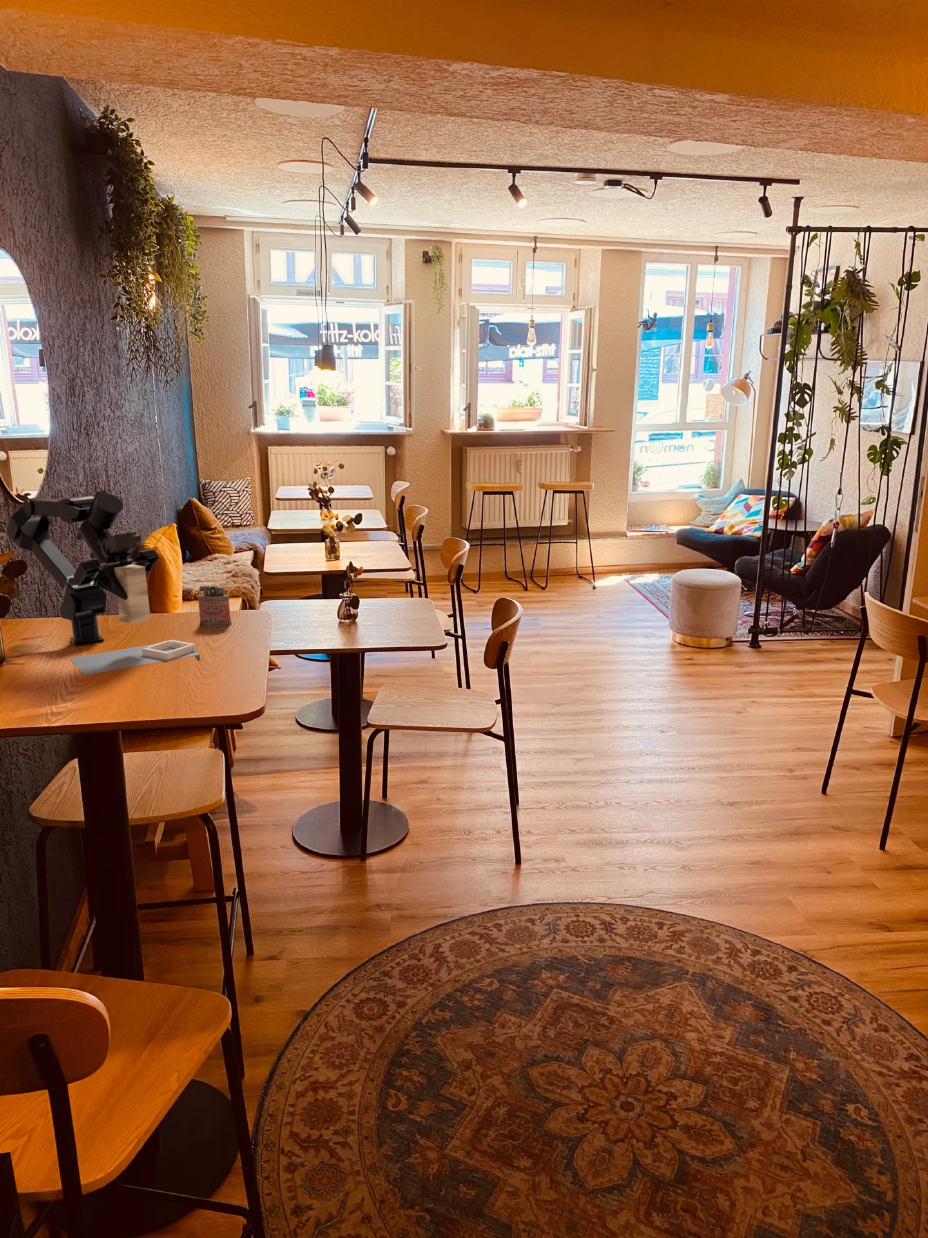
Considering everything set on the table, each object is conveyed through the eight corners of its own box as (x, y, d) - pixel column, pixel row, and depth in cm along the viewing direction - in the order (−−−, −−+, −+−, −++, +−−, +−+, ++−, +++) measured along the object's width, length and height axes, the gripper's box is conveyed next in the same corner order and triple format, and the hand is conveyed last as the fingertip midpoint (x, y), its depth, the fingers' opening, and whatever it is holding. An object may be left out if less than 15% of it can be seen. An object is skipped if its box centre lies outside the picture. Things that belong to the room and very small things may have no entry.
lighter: (233, 622, 229) (230, 584, 226) (228, 626, 226) (225, 587, 223) (202, 622, 230) (199, 584, 227) (197, 625, 226) (194, 587, 224)
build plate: (70, 662, 198) (69, 658, 197) (179, 643, 211) (178, 639, 210) (85, 679, 186) (84, 675, 185) (200, 658, 199) (199, 654, 198)
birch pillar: (120, 620, 201) (114, 567, 197) (137, 616, 204) (132, 564, 201) (132, 623, 198) (126, 570, 195) (150, 619, 202) (145, 566, 198)
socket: (142, 655, 199) (141, 648, 198) (171, 646, 205) (170, 639, 205) (167, 660, 195) (167, 653, 194) (195, 650, 201) (195, 644, 201)
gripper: (74, 524, 190) (111, 582, 187) (150, 513, 205) (185, 566, 201) (58, 557, 197) (93, 613, 193) (132, 544, 211) (166, 596, 208)
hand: (136, 596), depth 199 cm, fingers closed on birch pillar, 5 cm apart
